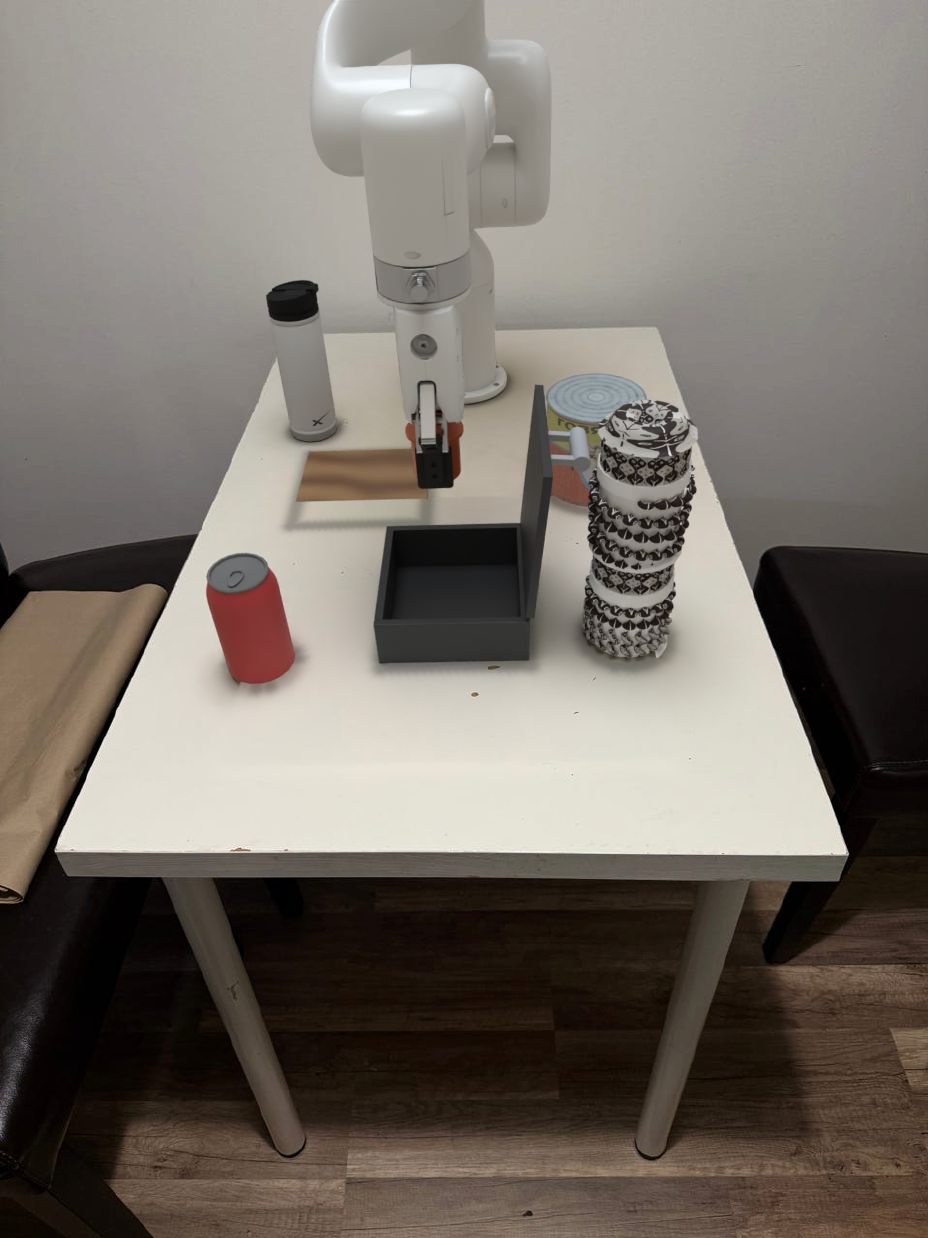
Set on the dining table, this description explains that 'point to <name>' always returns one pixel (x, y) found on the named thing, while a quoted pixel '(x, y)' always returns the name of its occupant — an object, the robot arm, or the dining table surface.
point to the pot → (453, 436)
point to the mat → (359, 476)
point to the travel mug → (302, 359)
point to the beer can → (249, 618)
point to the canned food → (583, 424)
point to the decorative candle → (637, 526)
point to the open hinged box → (452, 594)
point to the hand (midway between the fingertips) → (437, 466)
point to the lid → (543, 489)
